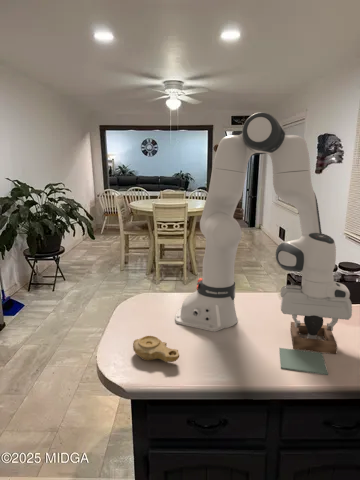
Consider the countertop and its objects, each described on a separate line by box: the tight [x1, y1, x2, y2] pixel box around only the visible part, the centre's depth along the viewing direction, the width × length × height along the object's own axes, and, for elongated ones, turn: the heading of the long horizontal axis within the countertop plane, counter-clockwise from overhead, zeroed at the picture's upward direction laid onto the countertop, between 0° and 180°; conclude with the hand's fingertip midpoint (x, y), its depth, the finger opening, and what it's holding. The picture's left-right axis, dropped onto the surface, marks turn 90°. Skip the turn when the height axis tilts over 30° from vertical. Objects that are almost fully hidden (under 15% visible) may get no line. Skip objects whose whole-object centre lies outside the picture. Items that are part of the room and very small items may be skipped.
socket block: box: [289, 321, 338, 355], centre depth 103 cm, size 12×12×3 cm
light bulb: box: [303, 315, 324, 339], centre depth 102 cm, size 6×6×10 cm
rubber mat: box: [279, 347, 329, 376], centre depth 93 cm, size 12×10×1 cm
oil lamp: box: [132, 335, 180, 363], centre depth 95 cm, size 11×14×5 cm
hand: (313, 328), depth 102 cm, fingers open, 8 cm apart
